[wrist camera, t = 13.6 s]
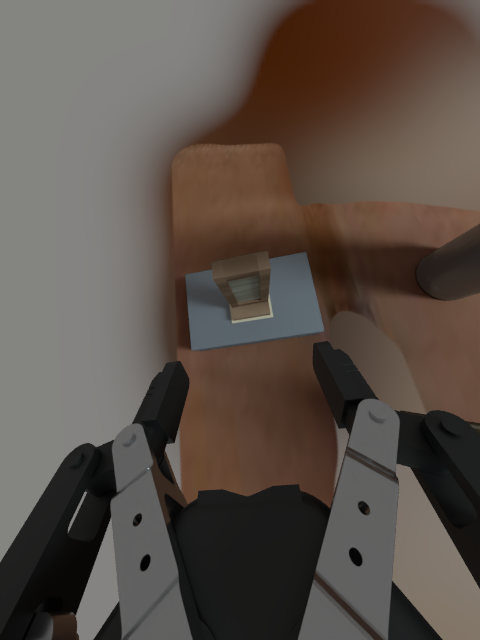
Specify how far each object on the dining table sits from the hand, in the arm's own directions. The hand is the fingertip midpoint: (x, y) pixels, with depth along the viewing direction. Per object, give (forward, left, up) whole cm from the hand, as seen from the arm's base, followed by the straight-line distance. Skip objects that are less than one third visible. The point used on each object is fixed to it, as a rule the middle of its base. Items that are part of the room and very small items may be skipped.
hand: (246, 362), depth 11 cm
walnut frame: (-5, -8, -19) cm, 21 cm away
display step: (-5, -8, -24) cm, 26 cm away
